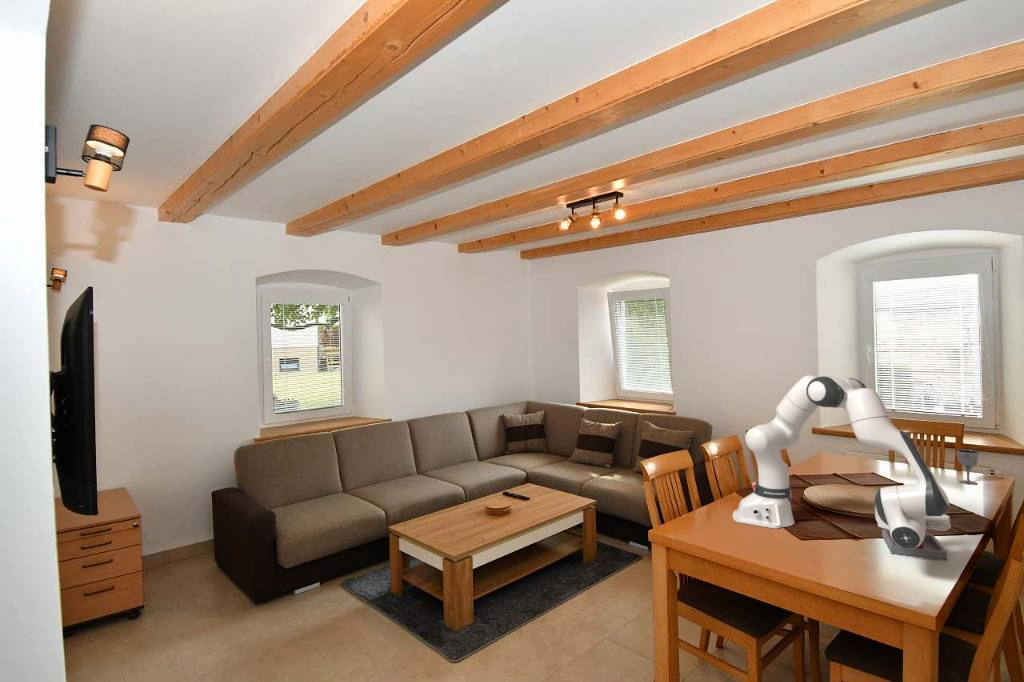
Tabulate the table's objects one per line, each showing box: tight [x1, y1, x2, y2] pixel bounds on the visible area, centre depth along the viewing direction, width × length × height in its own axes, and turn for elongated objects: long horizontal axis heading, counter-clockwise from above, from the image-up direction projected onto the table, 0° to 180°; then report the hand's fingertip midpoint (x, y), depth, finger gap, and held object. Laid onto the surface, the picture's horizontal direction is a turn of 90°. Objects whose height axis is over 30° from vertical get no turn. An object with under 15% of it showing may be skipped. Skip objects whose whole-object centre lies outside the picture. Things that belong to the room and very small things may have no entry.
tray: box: [881, 528, 948, 562], centre depth 187 cm, size 15×16×3 cm
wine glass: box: [956, 448, 980, 486], centre depth 256 cm, size 8×8×15 cm
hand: (912, 510), depth 186 cm, fingers open, 8 cm apart
